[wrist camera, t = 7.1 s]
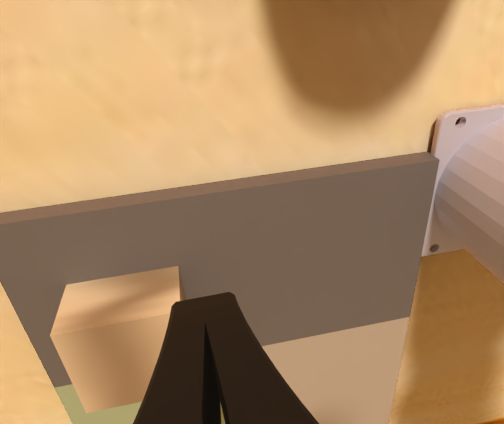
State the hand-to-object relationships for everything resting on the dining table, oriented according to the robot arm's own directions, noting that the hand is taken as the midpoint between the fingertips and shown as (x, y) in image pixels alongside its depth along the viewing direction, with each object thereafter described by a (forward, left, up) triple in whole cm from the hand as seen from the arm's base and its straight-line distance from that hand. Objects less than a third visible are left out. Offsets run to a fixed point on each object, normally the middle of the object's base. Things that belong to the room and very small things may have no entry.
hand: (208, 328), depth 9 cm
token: (+4, +7, -8) cm, 11 cm away
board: (-1, +12, -9) cm, 15 cm away
